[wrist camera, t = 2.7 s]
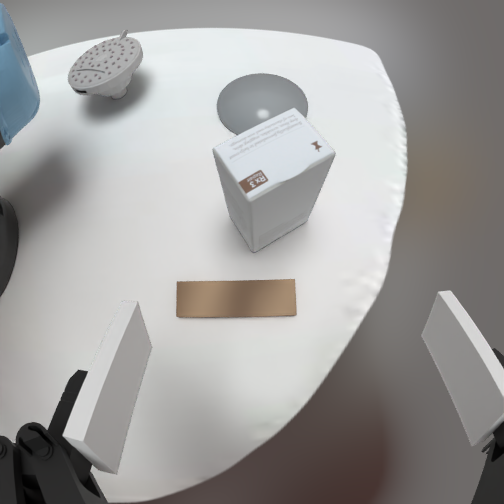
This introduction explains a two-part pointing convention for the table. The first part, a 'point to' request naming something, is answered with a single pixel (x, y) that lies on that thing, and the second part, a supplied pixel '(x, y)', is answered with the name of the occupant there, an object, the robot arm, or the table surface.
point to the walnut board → (236, 298)
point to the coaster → (258, 101)
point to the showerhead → (106, 67)
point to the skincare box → (273, 176)
